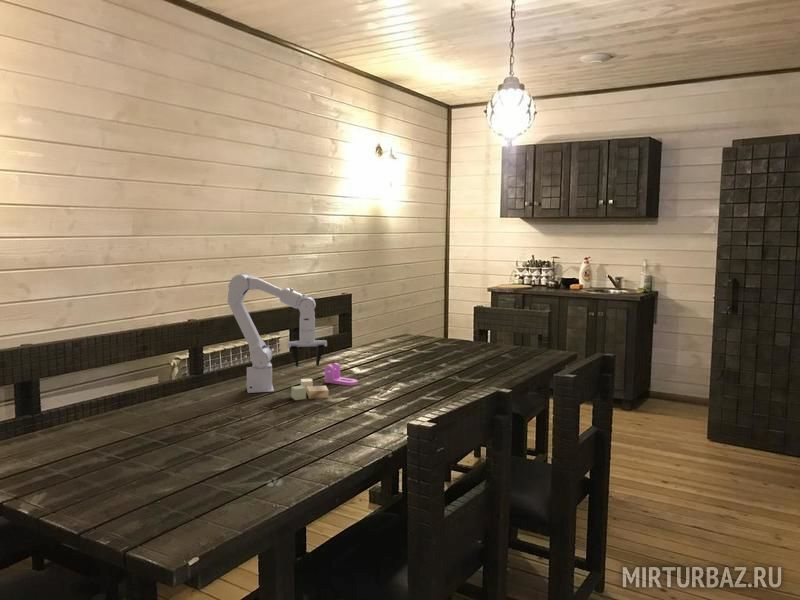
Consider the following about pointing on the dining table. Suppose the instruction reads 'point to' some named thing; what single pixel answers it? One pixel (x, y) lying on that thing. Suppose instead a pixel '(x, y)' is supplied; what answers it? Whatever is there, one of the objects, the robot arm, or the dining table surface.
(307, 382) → the cream cube
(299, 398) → the sage cube
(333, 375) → the bracket
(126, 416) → the dining table surface
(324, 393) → the oak slab
